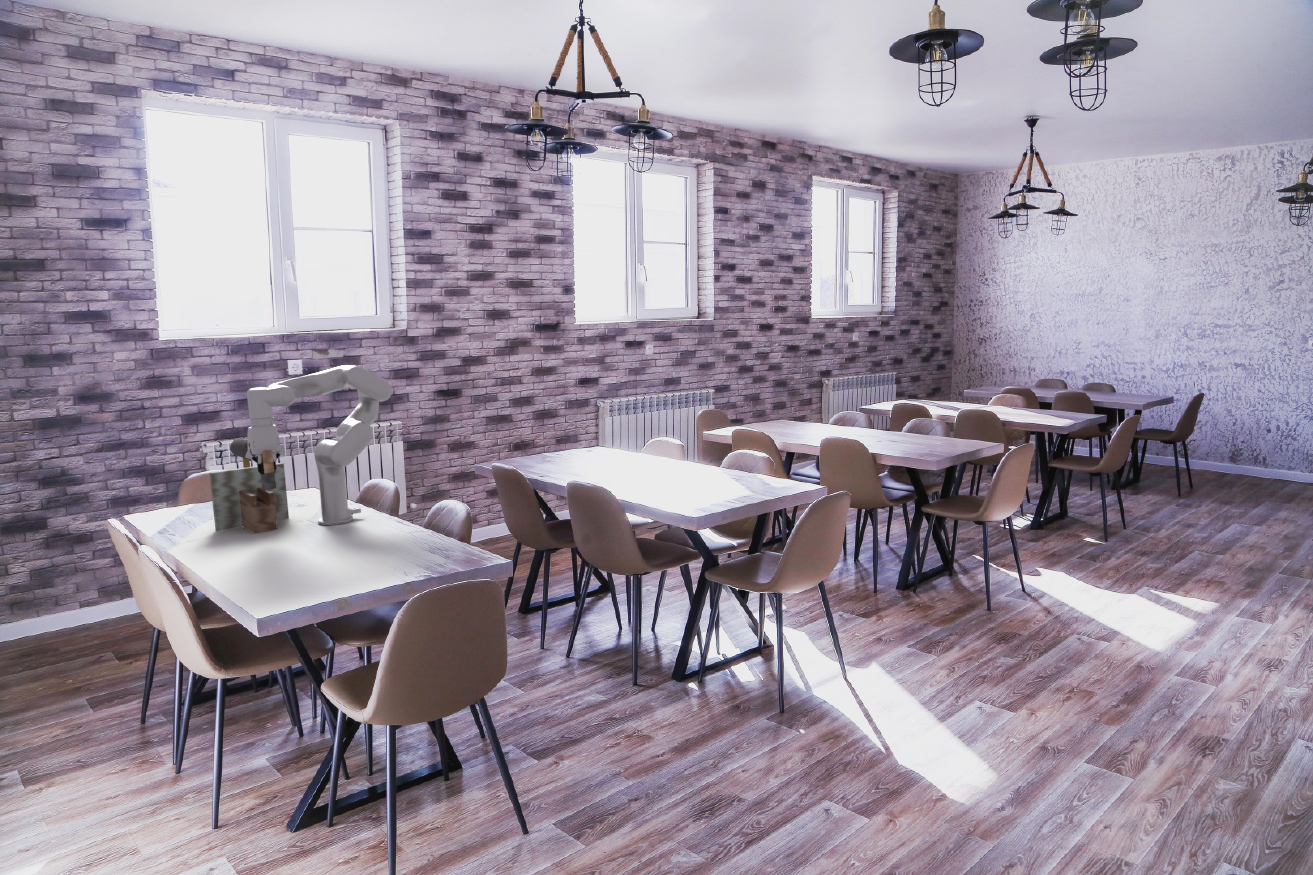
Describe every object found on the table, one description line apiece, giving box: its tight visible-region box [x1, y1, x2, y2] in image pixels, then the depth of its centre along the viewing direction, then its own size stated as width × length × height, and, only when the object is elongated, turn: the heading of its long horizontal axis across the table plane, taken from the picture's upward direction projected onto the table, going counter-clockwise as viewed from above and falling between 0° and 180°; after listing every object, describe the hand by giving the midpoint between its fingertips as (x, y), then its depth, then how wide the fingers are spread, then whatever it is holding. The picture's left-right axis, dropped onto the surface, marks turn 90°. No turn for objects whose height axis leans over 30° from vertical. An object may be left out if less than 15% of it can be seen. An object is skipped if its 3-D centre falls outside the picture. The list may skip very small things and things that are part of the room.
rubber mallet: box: [229, 438, 255, 468], centre depth 342 cm, size 12×8×30 cm, turn 50°
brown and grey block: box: [261, 450, 276, 490], centre depth 305 cm, size 3×5×14 cm, turn 42°
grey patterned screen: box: [209, 462, 290, 534], centre depth 318 cm, size 26×16×22 cm, turn 132°
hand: (267, 472), depth 305 cm, fingers closed on brown and grey block, 3 cm apart
